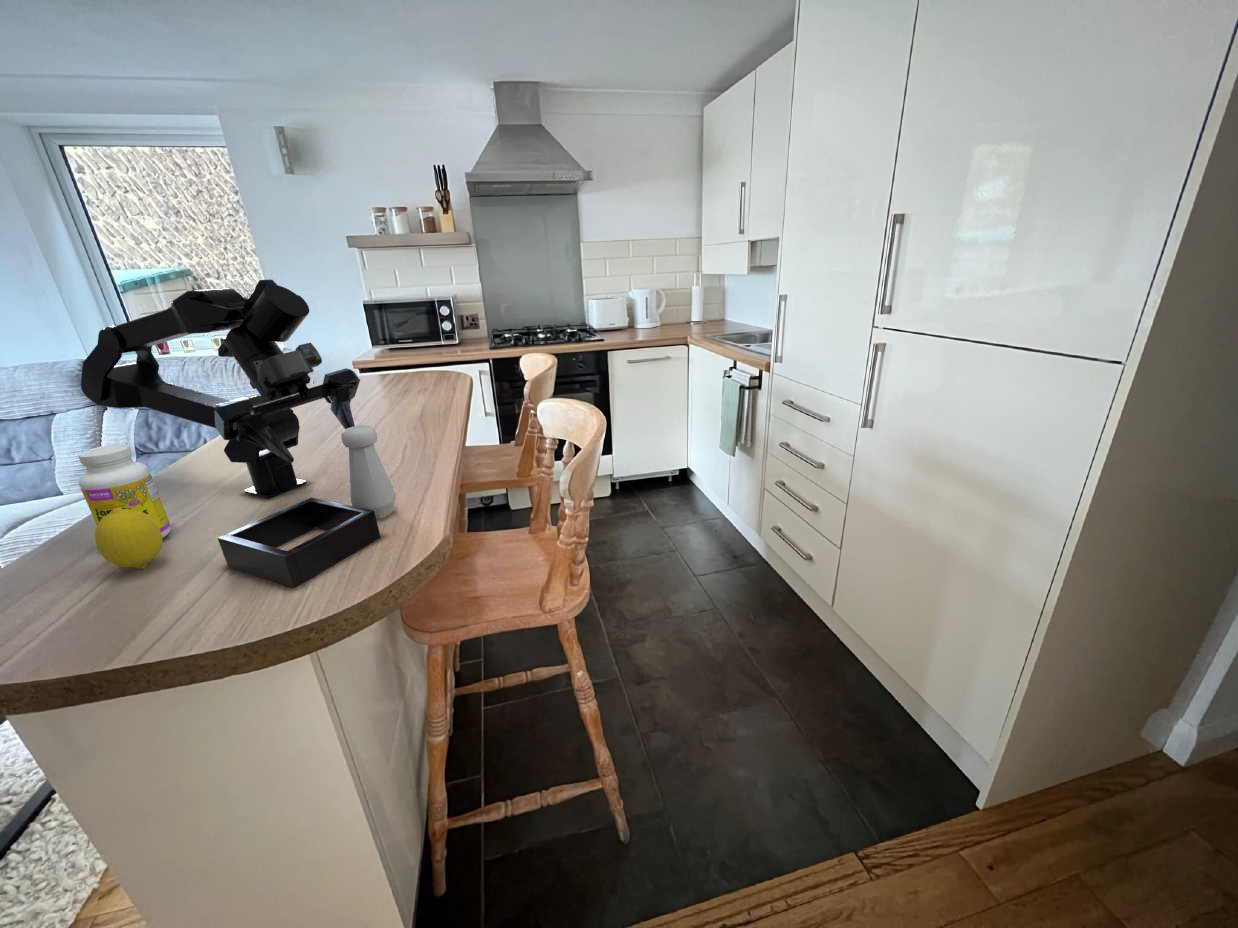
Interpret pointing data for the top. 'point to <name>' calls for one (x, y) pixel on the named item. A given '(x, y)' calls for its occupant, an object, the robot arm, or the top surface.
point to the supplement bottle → (120, 485)
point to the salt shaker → (367, 472)
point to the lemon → (128, 538)
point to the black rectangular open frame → (297, 565)
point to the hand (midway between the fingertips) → (325, 448)
